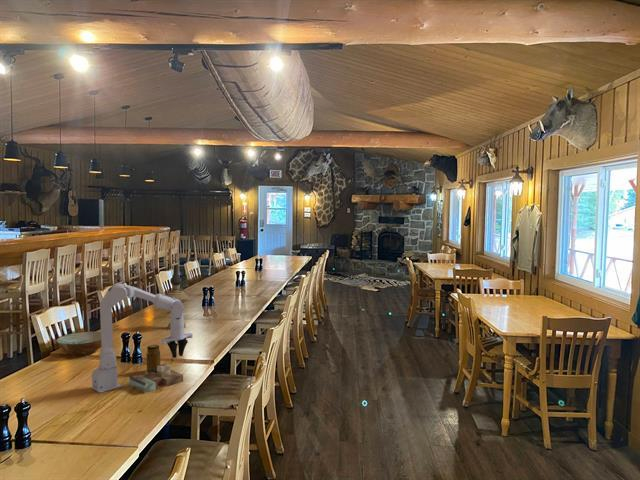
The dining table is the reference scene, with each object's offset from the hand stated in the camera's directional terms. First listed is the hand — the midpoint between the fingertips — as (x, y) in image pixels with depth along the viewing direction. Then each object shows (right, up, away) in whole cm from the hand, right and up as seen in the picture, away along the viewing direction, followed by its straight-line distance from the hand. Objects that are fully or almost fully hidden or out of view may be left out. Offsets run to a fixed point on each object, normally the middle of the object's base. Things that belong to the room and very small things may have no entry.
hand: (177, 356), depth 216 cm
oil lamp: (-28, -4, +91) cm, 95 cm away
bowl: (-61, -7, +38) cm, 73 cm away
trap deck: (-7, -10, -7) cm, 14 cm away
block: (-5, -7, -5) cm, 9 cm away
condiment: (-13, -9, +9) cm, 18 cm away
